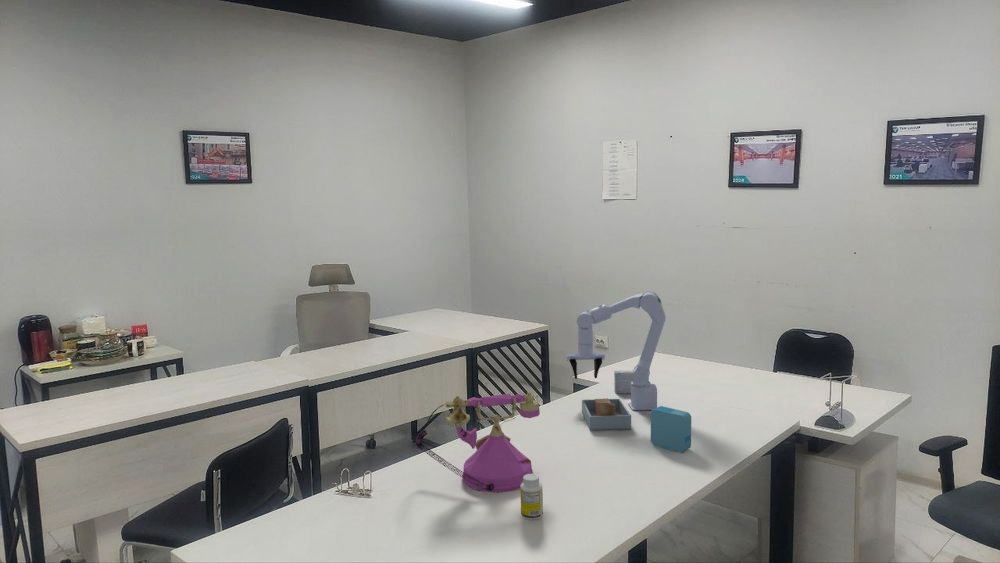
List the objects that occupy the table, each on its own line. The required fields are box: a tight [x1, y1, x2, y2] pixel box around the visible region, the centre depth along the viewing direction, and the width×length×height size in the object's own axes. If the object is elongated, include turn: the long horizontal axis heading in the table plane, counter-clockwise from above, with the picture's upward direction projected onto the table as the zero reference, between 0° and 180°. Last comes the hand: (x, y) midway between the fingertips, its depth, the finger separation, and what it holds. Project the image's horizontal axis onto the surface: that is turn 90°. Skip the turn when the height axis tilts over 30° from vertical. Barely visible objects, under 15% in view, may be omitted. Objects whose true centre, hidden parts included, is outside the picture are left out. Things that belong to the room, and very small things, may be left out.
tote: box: [581, 398, 632, 432], centre depth 229 cm, size 14×19×5 cm
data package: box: [650, 405, 692, 454], centre depth 203 cm, size 12×4×12 cm, turn 45°
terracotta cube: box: [594, 397, 611, 416], centre depth 235 cm, size 5×5×5 cm
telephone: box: [415, 391, 541, 494], centre depth 181 cm, size 36×22×25 cm, turn 101°
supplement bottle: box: [519, 473, 544, 521], centre depth 161 cm, size 6×6×10 cm
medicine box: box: [613, 369, 633, 394], centre depth 263 cm, size 8×4×9 cm, turn 84°
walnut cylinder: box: [601, 403, 615, 416], centre depth 224 cm, size 5×5×7 cm
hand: (585, 377), depth 248 cm, fingers open, 7 cm apart
